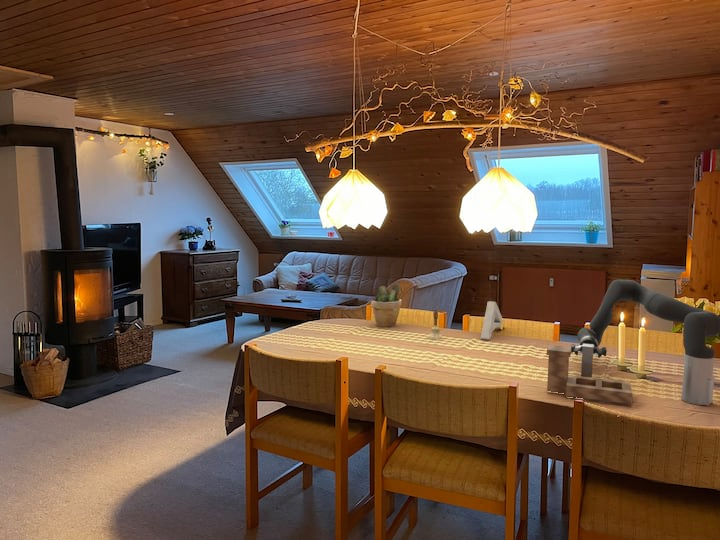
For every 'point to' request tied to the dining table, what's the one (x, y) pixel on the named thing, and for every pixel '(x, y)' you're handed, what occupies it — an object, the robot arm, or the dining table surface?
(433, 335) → the hand bell
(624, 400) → the desk organizer
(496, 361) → the dining table surface
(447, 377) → the dining table surface
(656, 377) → the dining table surface
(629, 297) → the robot arm
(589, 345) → the gray rectangular block
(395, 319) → the potted plant
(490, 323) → the white letter a
